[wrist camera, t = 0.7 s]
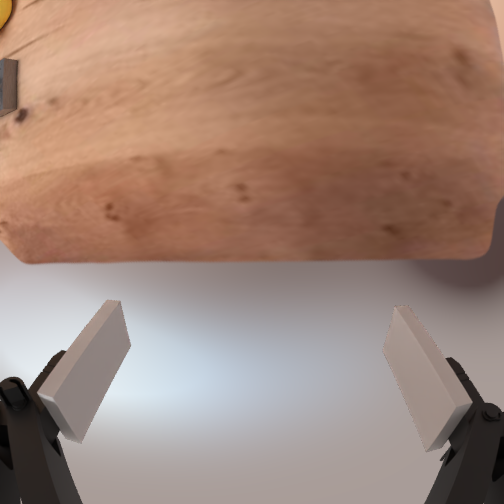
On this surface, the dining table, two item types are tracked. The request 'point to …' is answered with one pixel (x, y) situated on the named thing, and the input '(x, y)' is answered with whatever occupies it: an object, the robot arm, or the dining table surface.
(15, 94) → the grey socket base
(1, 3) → the teapot
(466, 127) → the dining table surface
